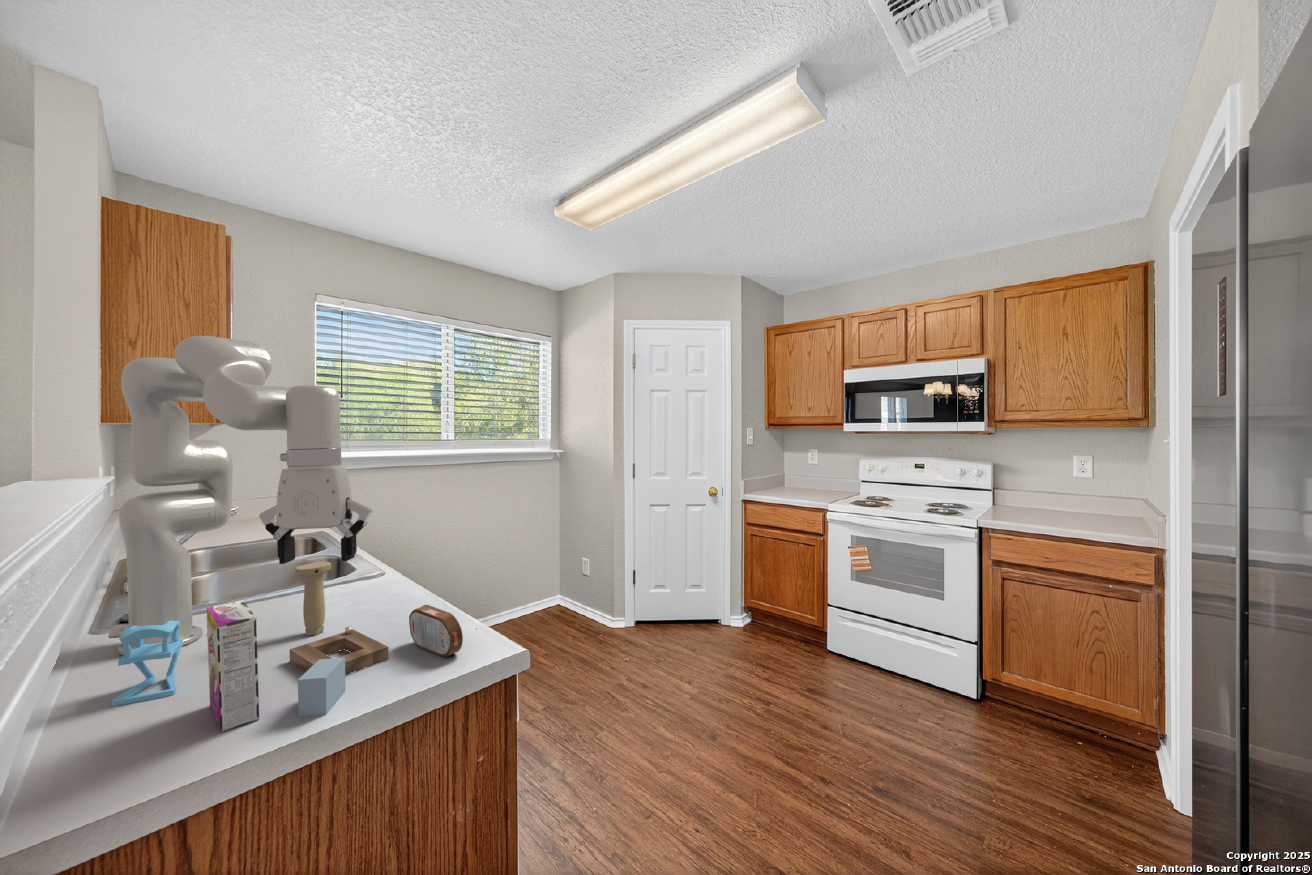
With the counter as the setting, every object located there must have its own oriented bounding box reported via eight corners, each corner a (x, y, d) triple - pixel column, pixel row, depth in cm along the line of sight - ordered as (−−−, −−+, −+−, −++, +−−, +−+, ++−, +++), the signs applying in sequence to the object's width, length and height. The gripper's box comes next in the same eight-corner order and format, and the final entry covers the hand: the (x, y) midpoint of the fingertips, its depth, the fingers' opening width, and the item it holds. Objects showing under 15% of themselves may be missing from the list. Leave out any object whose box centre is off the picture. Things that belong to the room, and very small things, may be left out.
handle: (334, 631, 111) (333, 564, 111) (299, 641, 107) (298, 570, 106) (328, 625, 115) (327, 560, 114) (294, 634, 110) (293, 566, 109)
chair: (190, 674, 93) (189, 609, 92) (174, 695, 85) (173, 624, 85) (132, 684, 89) (131, 617, 89) (110, 707, 82) (109, 633, 81)
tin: (464, 657, 99) (463, 615, 99) (450, 663, 97) (449, 620, 97) (420, 639, 108) (420, 600, 108) (406, 644, 105) (405, 604, 105)
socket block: (322, 684, 89) (322, 663, 89) (289, 661, 97) (289, 642, 97) (388, 659, 98) (388, 640, 98) (353, 640, 107) (352, 623, 107)
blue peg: (298, 717, 79) (297, 679, 79) (319, 694, 86) (319, 659, 86) (326, 714, 80) (325, 677, 80) (345, 691, 87) (345, 657, 86)
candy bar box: (206, 706, 82) (204, 606, 81) (246, 694, 86) (244, 598, 85) (218, 734, 74) (216, 625, 74) (260, 720, 78) (258, 615, 78)
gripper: (243, 462, 80) (247, 569, 80) (358, 459, 82) (361, 564, 82) (274, 459, 88) (277, 557, 88) (378, 457, 89) (381, 553, 90)
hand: (318, 560), depth 85 cm, fingers open, 9 cm apart
